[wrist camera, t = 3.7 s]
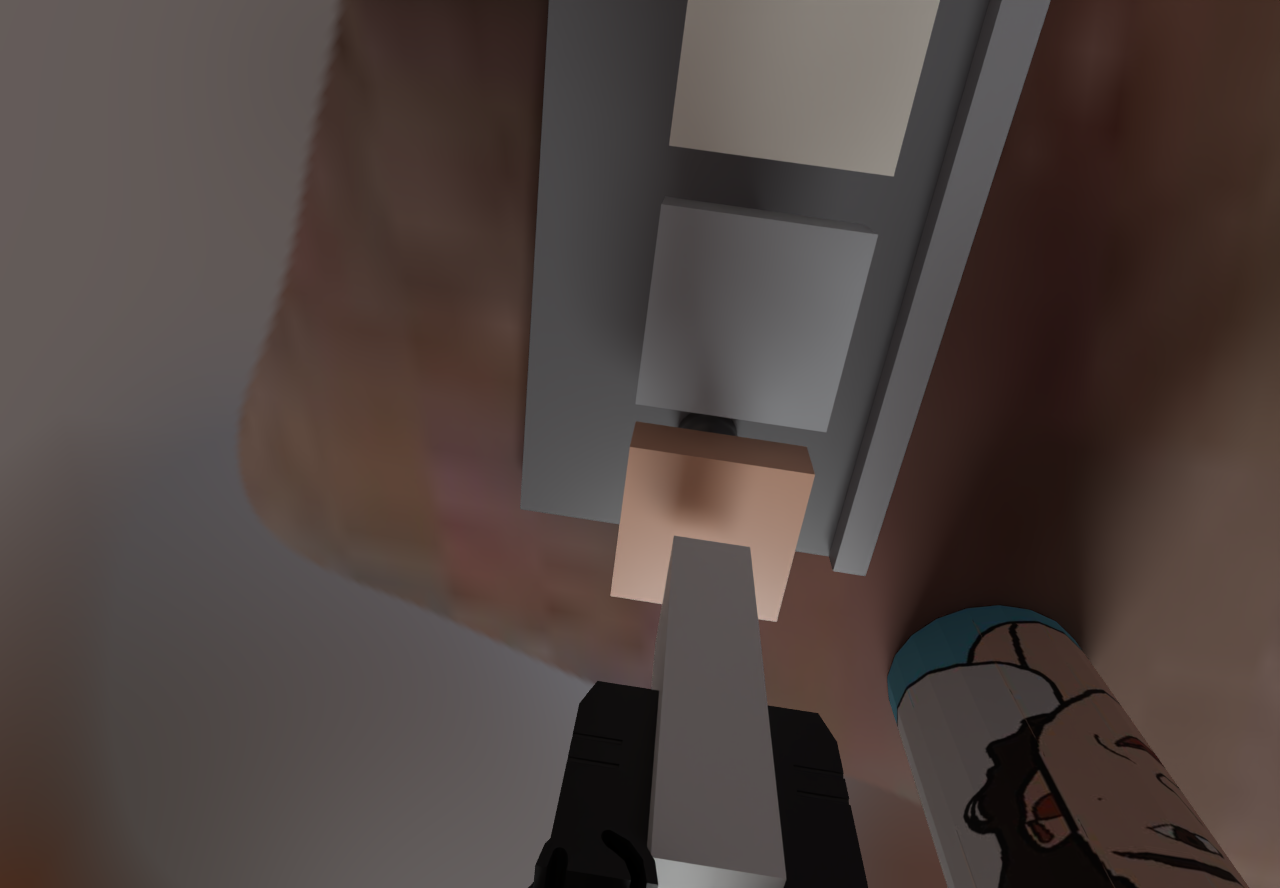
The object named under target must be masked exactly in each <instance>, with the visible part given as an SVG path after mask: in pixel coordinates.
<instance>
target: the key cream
mask: <svg viewBox="0 0 1280 888" xmlns="http://www.w3.org/2000/svg"><path fill="white" fill-rule="evenodd" d="M939 2H940V0H688V3H687V10H686V18H685V26H684V33H683V41H682V49H681V56H680V64H679V72H678V80H677V87H676V95H675V103H674V110H673V118H672V126H671V133H670V141H669V146H676V147H683V148H690V149H697V150H705V151H712V152H719V153H726V154H734V155H741V156H748V157H755V158H763V159H770V160H777V161H784V162H792V163H799V164H806V165H813V166H821V167H828V168H835V169H842V170H850V171H857V172H864V173H871V174H879V175H886V176H893V177H894V173H895V169H896V165H897V162H898V158H899V154H900V150H901V146H902V143H903V139H904V135H905V131H906V127H907V124H908V120H909V116H910V112H911V108H912V105H913V101H914V97H915V93H916V89H917V86H918V82H919V78H920V74H921V70H922V67H923V63H924V59H925V55H926V51H927V48H928V44H929V40H930V36H931V32H932V29H933V25H934V21H935V17H936V13H937V10H938V6H939Z"/></svg>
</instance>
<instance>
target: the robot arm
mask: <svg viewBox="0 0 1280 888" xmlns="http://www.w3.org/2000/svg"><path fill="white" fill-rule="evenodd" d="M528 888H868V885H867V880H866V875H865V871H864V866H863V861H862V857H861V852H860V848H859V843H858V838H857V833H856V829H855V825H854V819H853V815H852V810H851V806H850V805H849V796H848V792H847V787H846V782H845V779H843V768H842V763H841V759H840V754H839V749H838V745H837V741H836V740H835V738H834V737H833V735H832V734H831V732H830V731H829V729H828V728H827V726H826V725H825V723H824V722H823V720H822V718H821V717H820V715H819V714H818V713H813V712H806V711H800V710H793V709H787V708H781V707H774V706H768V705H767V696H766V687H765V678H764V669H763V660H762V650H761V641H760V632H759V623H758V614H757V605H756V596H755V586H754V577H753V568H752V559H751V550H750V547H747V546H740V545H733V544H727V543H720V542H713V541H707V540H700V539H693V538H687V537H680V536H674V538H673V544H672V550H671V556H670V562H669V567H668V573H667V579H666V585H665V591H664V597H663V603H662V608H661V614H660V620H659V626H658V632H657V638H656V644H655V654H654V665H653V676H652V687H651V689H646V688H639V687H633V686H627V685H620V684H614V683H607V682H601V681H597V682H596V683H595V685H594V686H593V687H592V688H591V690H590V691H589V692H588V693H587V695H586V696H585V697H584V699H583V700H582V701H581V702H580V704H579V708H578V713H577V717H576V722H575V726H574V731H573V737H572V741H571V745H570V750H569V755H568V760H567V764H566V769H565V773H564V778H563V783H562V787H561V792H560V797H559V802H558V806H557V811H556V816H555V820H554V825H553V829H552V834H551V838H550V839H549V840H548V841H547V842H546V843H545V845H544V847H543V849H542V852H541V854H540V856H539V859H538V861H537V863H536V865H535V875H534V882H533V884H532V885H531V886H529V887H528Z"/></svg>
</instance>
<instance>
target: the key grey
mask: <svg viewBox="0 0 1280 888" xmlns="http://www.w3.org/2000/svg"><path fill="white" fill-rule="evenodd" d="M877 238H878V234H877V233H875V232H874V231H872V230H871V229H869V228H868V227H866V226H865V225H863V224H859V223H851V222H844V221H837V220H830V219H823V218H816V217H808V216H801V215H794V214H787V213H780V212H773V211H766V210H758V209H751V208H744V207H737V206H730V205H723V204H716V203H708V202H701V201H694V200H687V199H680V198H673V197H666V196H665V198H664V200H663V202H662V204H661V210H660V218H659V226H658V234H657V241H656V249H655V257H654V264H653V272H652V280H651V287H650V295H649V303H648V311H647V318H646V326H645V334H644V341H643V349H642V357H641V364H640V372H639V380H638V388H637V395H636V403H635V404H638V405H645V406H652V407H658V408H665V409H672V410H679V411H685V412H692V413H699V414H706V415H712V416H719V417H726V418H733V419H739V420H746V421H753V422H760V423H766V424H773V425H780V426H787V427H793V428H800V429H807V430H814V431H820V432H827V428H828V424H829V420H830V416H831V413H832V409H833V405H834V401H835V397H836V394H837V390H838V386H839V382H840V378H841V375H842V371H843V367H844V363H845V359H846V356H847V352H848V348H849V344H850V340H851V337H852V333H853V329H854V325H855V321H856V318H857V314H858V310H859V306H860V302H861V299H862V295H863V291H864V287H865V283H866V280H867V276H868V272H869V268H870V264H871V261H872V257H873V253H874V249H875V245H876V242H877Z"/></svg>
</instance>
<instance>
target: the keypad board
mask: <svg viewBox="0 0 1280 888" xmlns="http://www.w3.org/2000/svg"><path fill="white" fill-rule="evenodd" d="M687 3H688V0H549V10H548V28H547V46H546V63H545V81H544V99H543V116H542V134H541V152H540V170H539V187H538V205H537V223H536V240H535V258H534V276H533V293H532V311H531V329H530V346H529V364H528V382H527V399H526V417H525V435H524V452H523V470H522V488H521V505H520V509H523V510H529V511H536V512H542V513H549V514H556V515H562V516H569V517H575V518H582V519H588V520H595V521H601V522H608V523H614V524H620V518H621V511H622V503H623V495H624V488H625V480H626V472H627V465H628V457H629V449H630V444H631V440H632V435H633V431H634V427H635V423H636V421H637V422H644V423H651V424H657V425H664V426H671V427H678V428H684V429H691V430H698V431H704V432H711V433H718V434H725V435H731V436H738V437H745V438H751V439H758V440H765V441H772V442H778V443H785V444H792V445H799V446H805V447H807V449H808V453H809V456H810V459H811V463H812V466H813V469H814V472H815V477H814V481H813V485H812V489H811V492H810V496H809V500H808V504H807V508H806V511H805V515H804V519H803V523H802V527H801V530H800V534H799V538H798V542H797V546H796V549H795V551H798V552H804V553H811V554H817V555H824V556H829V558H830V562H831V565H832V569H833V571H836V572H843V573H849V574H856V575H862V576H866V573H867V569H868V566H869V563H870V560H871V557H872V554H873V551H874V548H875V545H876V541H877V538H878V535H879V532H880V529H881V526H882V523H883V520H884V517H885V513H886V510H887V507H888V504H889V501H890V498H891V495H892V492H893V489H894V485H895V482H896V479H897V476H898V473H899V470H900V467H901V464H902V461H903V457H904V454H905V451H906V448H907V445H908V442H909V439H910V436H911V433H912V429H913V426H914V423H915V420H916V417H917V414H918V411H919V408H920V405H921V401H922V398H923V395H924V392H925V389H926V386H927V383H928V380H929V377H930V374H931V370H932V367H933V364H934V361H935V358H936V355H937V352H938V349H939V346H940V342H941V339H942V336H943V333H944V330H945V327H946V324H947V321H948V318H949V314H950V311H951V308H952V305H953V302H954V299H955V296H956V293H957V290H958V286H959V283H960V280H961V277H962V274H963V271H964V268H965V265H966V262H967V258H968V255H969V252H970V249H971V246H972V243H973V240H974V237H975V234H976V230H977V227H978V224H979V221H980V218H981V215H982V212H983V209H984V206H985V202H986V199H987V196H988V193H989V190H990V187H991V184H992V181H993V178H994V174H995V171H996V168H997V165H998V162H999V159H1000V156H1001V153H1002V150H1003V146H1004V143H1005V140H1006V137H1007V134H1008V131H1009V128H1010V125H1011V122H1012V118H1013V115H1014V112H1015V109H1016V106H1017V103H1018V100H1019V97H1020V94H1021V90H1022V87H1023V84H1024V81H1025V78H1026V75H1027V72H1028V69H1029V66H1030V62H1031V59H1032V56H1033V53H1034V50H1035V47H1036V44H1037V41H1038V38H1039V34H1040V31H1041V28H1042V25H1043V22H1044V19H1045V16H1046V13H1047V10H1048V6H1049V3H1050V0H940V2H939V6H938V10H937V13H936V17H935V21H934V25H933V29H932V32H931V36H930V40H929V44H928V48H927V51H926V55H925V59H924V63H923V67H922V70H921V74H920V78H919V82H918V86H917V89H916V93H915V97H914V101H913V105H912V108H911V112H910V116H909V120H908V124H907V127H906V131H905V135H904V139H903V143H902V146H901V150H900V154H899V158H898V162H897V165H896V169H895V173H894V177H893V176H886V175H879V174H871V173H864V172H857V171H850V170H842V169H835V168H828V167H821V166H813V165H806V164H799V163H792V162H784V161H777V160H770V159H763V158H755V157H748V156H741V155H734V154H726V153H719V152H712V151H705V150H697V149H690V148H683V147H676V146H669V141H670V133H671V126H672V118H673V110H674V103H675V95H676V87H677V80H678V72H679V64H680V56H681V49H682V41H683V33H684V26H685V18H686V10H687ZM665 196H666V197H673V198H680V199H687V200H694V201H701V202H708V203H716V204H723V205H730V206H737V207H744V208H751V209H758V210H766V211H773V212H780V213H787V214H794V215H801V216H808V217H816V218H823V219H830V220H837V221H844V222H851V223H859V224H863V225H865V226H866V227H868V228H869V229H871V230H872V231H874V232H875V233H877V234H878V238H877V242H876V245H875V249H874V253H873V257H872V261H871V264H870V268H869V272H868V276H867V280H866V283H865V287H864V291H863V295H862V299H861V302H860V306H859V310H858V314H857V318H856V321H855V325H854V329H853V333H852V337H851V340H850V344H849V348H848V352H847V356H846V359H845V363H844V367H843V371H842V375H841V378H840V382H839V386H838V390H837V394H836V397H835V401H834V405H833V409H832V413H831V416H830V420H829V424H828V428H827V432H820V431H814V430H807V429H800V428H793V427H787V426H780V425H773V424H766V423H760V422H753V421H746V420H739V419H733V418H726V417H719V416H712V415H706V414H699V413H692V412H685V411H679V410H672V409H665V408H658V407H652V406H645V405H638V404H635V403H636V395H637V388H638V380H639V372H640V364H641V357H642V349H643V341H644V334H645V326H646V318H647V311H648V303H649V295H650V287H651V280H652V272H653V264H654V257H655V249H656V241H657V234H658V226H659V218H660V210H661V204H662V202H663V200H664V198H665Z"/></svg>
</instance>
